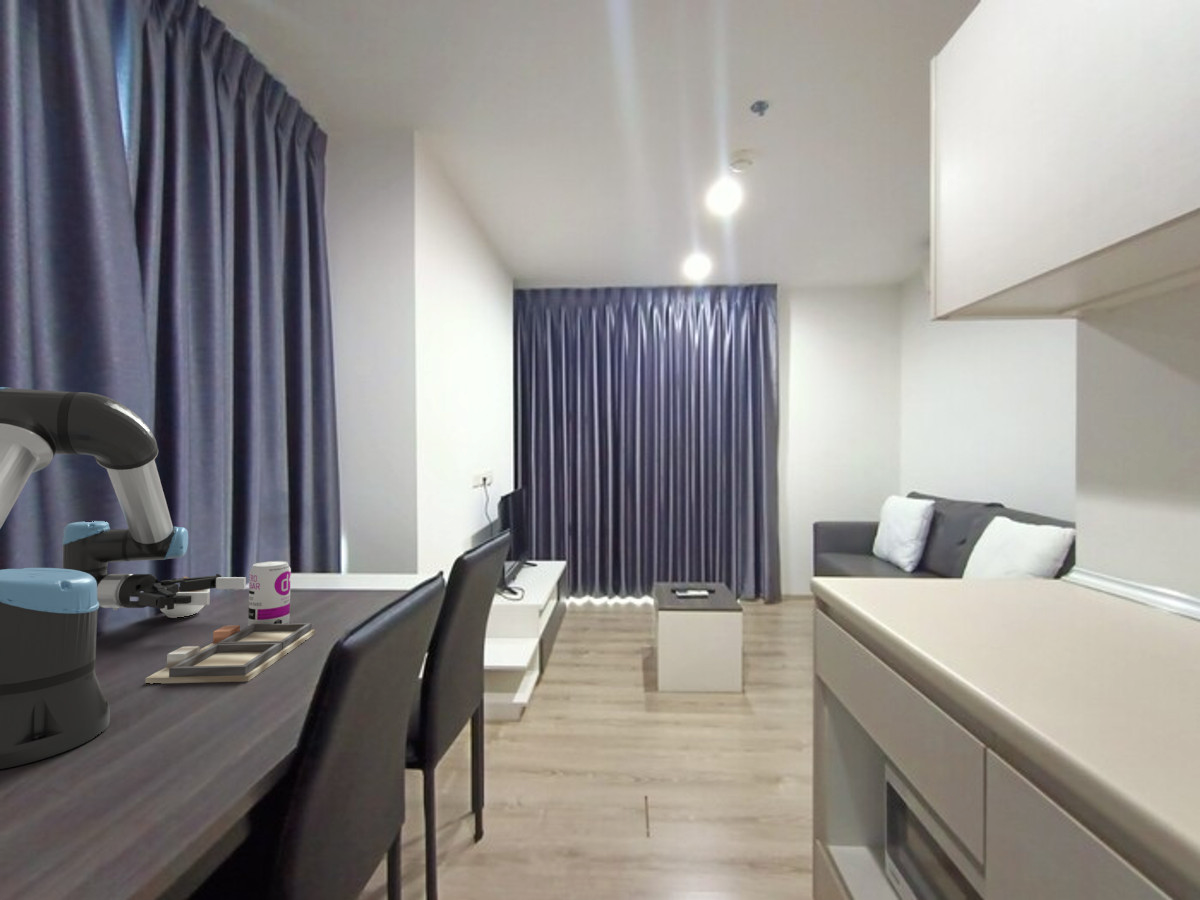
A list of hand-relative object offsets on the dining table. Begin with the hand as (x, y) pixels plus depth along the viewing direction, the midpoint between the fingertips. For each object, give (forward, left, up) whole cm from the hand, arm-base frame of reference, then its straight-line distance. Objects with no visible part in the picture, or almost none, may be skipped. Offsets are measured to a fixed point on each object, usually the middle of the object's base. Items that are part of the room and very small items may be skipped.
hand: (228, 590), depth 122 cm
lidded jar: (+12, +18, -9) cm, 23 cm away
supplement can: (0, -9, -9) cm, 13 cm away
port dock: (-18, -13, -9) cm, 24 cm away
